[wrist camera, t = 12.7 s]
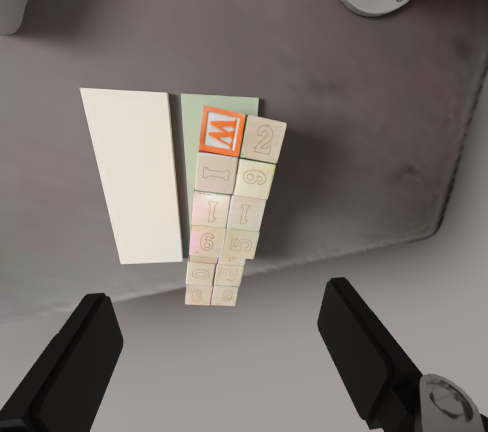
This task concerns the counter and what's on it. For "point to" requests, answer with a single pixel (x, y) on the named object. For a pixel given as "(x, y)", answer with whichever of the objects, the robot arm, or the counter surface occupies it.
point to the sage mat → (193, 124)
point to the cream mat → (137, 171)
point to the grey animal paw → (11, 15)
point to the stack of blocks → (229, 200)
